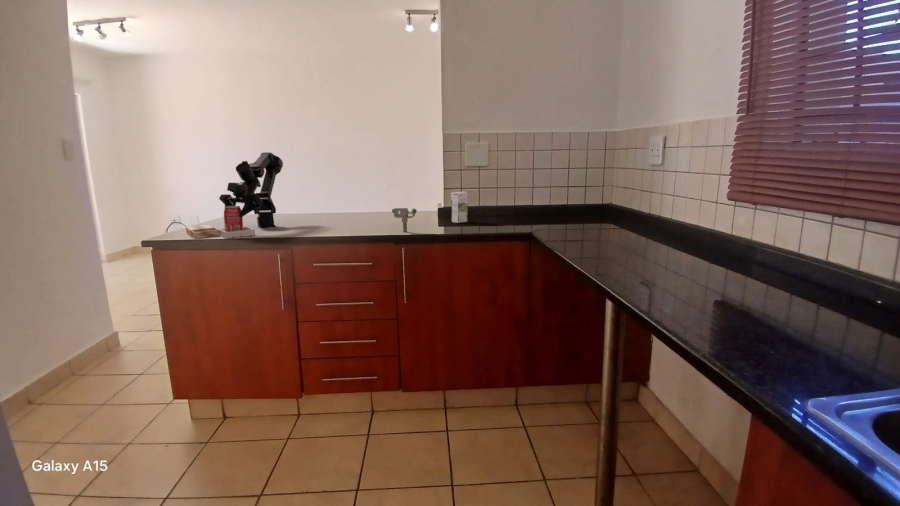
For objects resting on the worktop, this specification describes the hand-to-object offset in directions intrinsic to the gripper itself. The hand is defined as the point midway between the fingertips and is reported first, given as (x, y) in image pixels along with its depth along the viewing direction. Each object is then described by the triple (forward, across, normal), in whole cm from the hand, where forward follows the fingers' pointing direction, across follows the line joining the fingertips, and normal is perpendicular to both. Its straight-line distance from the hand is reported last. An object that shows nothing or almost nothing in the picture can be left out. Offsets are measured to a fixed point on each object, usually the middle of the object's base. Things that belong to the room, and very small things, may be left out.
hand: (232, 216), depth 195 cm
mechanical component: (-11, +68, +22) cm, 72 cm away
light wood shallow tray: (+6, -17, +6) cm, 19 cm away
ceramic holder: (+5, 0, +7) cm, 8 cm away
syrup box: (-34, +82, +46) cm, 100 cm away
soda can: (+5, -1, +7) cm, 8 cm away
